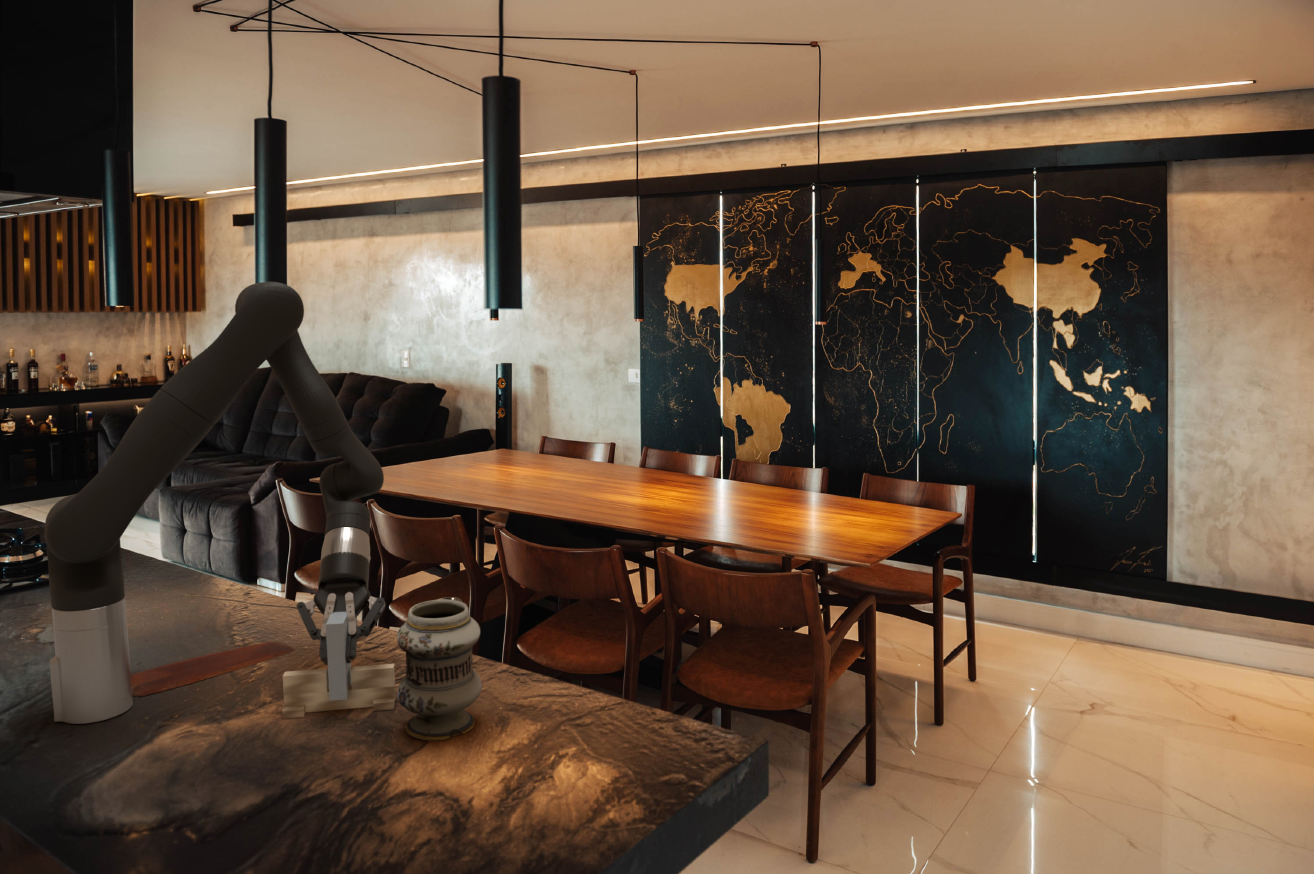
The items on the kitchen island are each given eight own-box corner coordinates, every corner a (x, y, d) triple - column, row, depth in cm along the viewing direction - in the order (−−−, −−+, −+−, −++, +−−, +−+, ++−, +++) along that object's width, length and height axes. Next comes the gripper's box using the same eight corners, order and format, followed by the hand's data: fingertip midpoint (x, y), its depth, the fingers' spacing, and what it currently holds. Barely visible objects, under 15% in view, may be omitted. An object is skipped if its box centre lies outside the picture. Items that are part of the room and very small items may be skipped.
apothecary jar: (428, 753, 117) (424, 627, 115) (382, 726, 125) (378, 608, 123) (499, 724, 126) (497, 607, 124) (452, 700, 134) (449, 589, 132)
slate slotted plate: (329, 700, 128) (325, 624, 127) (335, 685, 133) (331, 612, 132) (347, 699, 129) (343, 623, 127) (351, 684, 134) (348, 611, 132)
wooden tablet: (138, 703, 134) (137, 693, 134) (115, 686, 140) (114, 676, 140) (301, 654, 154) (300, 645, 154) (274, 641, 160) (274, 633, 160)
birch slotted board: (282, 718, 127) (280, 680, 126) (289, 704, 132) (287, 667, 131) (393, 709, 131) (392, 671, 130) (396, 695, 135) (395, 659, 135)
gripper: (295, 552, 134) (283, 655, 124) (387, 547, 137) (383, 648, 127) (303, 575, 140) (292, 675, 130) (391, 570, 143) (387, 668, 133)
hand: (337, 661), depth 128 cm, fingers closed on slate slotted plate, 2 cm apart
